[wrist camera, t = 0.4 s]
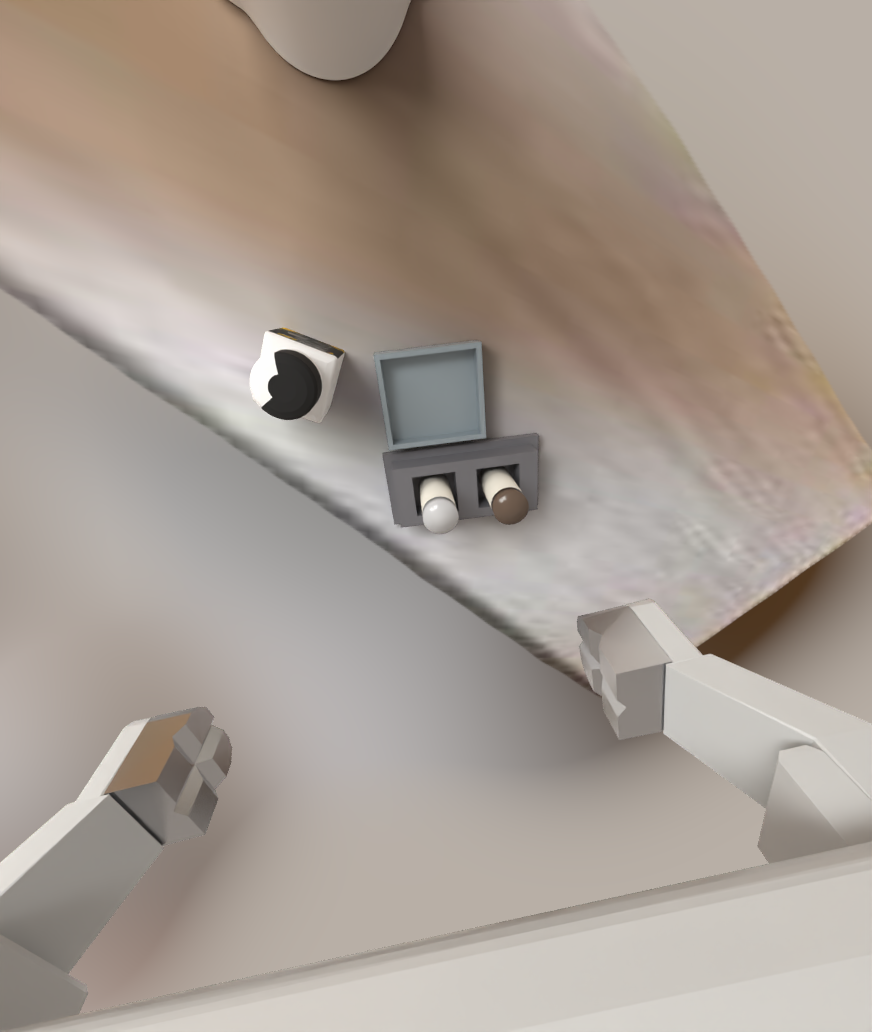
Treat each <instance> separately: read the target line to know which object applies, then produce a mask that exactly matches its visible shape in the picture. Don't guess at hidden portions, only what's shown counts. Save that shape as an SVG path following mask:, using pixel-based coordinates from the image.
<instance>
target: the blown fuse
mask: <svg viewBox="0 0 872 1032" xmlns="http://www.w3.org/2000/svg"><path fill="white" fill-rule="evenodd" d="M479 483H480V485H481V487H482V489H483V492H484V494H485V496H486V498H487V500H488V502H489V504H490V507H491V509H492V511H493V513H494V515H495V517H496V519H497V520H498V521H499V522H501V523H503V524H509V525H510V524H515V523H518V522H520V521H521V520H522V519H524V517H525V516H526V515H527V513H528V510H529V504H528V501H527V499H526V497H525V496H524V494H523V493H522V491H521V490H520V488H519V487H518V485H517V484H516V482H515V481H514V479H513V478H512V476H511V475H510V473H509V472H508V471H507V469H506V468H505V467H504V466H497V467H489V468H483V469H482V470H481V472H480V474H479Z"/></svg>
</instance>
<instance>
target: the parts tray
mask: <svg viewBox="0 0 872 1032" xmlns="http://www.w3.org/2000/svg"><path fill="white" fill-rule="evenodd" d="M374 361H375V367H376V373H377V380H378V386H379V392H380V398H381V404H382V410H383V416H384V422H385V429H386V435H387V441H388V447H389V450H396V449H404V448H412V447H420V446H428V445H435V444H443V443H451V442H459V441H467V440H474V439H482V438H486V424H485V404H484V384H483V364H482V344H481V341H479V340H473V341H465V342H457V343H449V344H440V345H432V346H424V347H416V348H407V349H399V350H391V351H383V352H375V353H374Z"/></svg>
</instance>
